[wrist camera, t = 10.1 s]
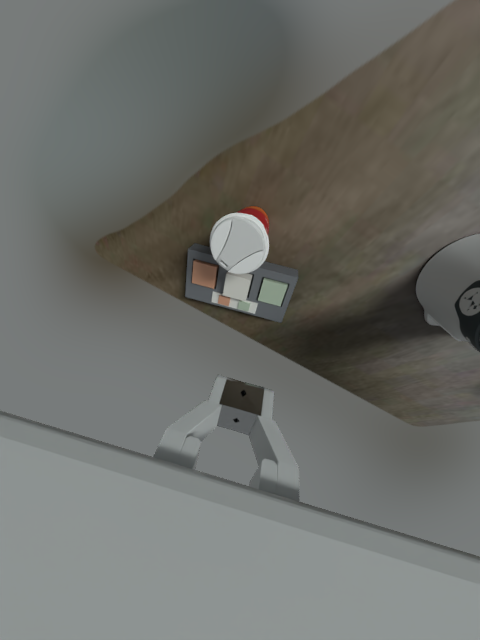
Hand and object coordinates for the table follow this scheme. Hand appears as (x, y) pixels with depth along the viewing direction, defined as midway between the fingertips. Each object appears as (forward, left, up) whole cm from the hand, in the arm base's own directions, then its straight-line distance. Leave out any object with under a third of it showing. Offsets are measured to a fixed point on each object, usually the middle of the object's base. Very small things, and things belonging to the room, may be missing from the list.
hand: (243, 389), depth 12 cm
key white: (+5, +10, -31) cm, 33 cm away
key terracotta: (+11, +10, -32) cm, 36 cm away
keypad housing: (+5, +11, -34) cm, 36 cm away
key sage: (-2, +10, -33) cm, 34 cm away
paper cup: (+4, 0, -34) cm, 35 cm away
